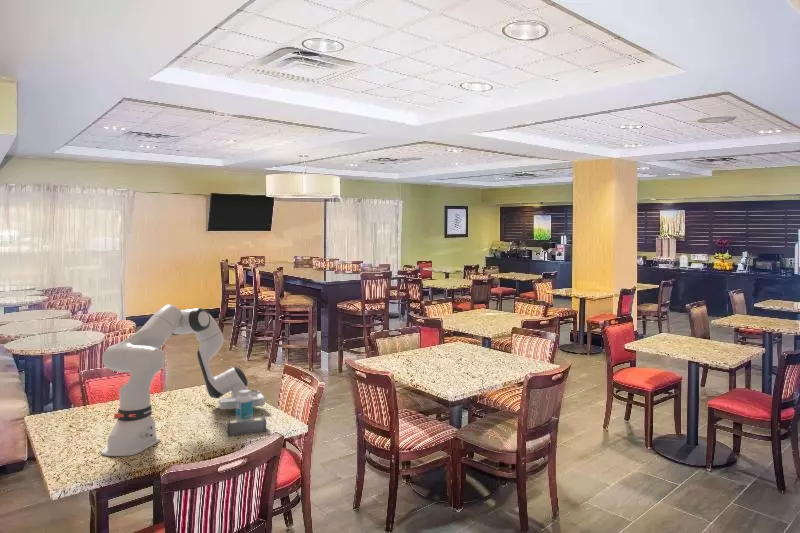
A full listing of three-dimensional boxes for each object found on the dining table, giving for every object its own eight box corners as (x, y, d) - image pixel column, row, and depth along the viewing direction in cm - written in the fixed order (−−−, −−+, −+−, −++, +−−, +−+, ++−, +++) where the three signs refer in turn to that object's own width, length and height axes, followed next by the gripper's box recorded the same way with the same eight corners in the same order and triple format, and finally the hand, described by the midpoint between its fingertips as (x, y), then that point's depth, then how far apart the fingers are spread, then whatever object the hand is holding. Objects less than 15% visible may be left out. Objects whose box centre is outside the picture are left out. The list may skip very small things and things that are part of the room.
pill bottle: (255, 418, 252) (255, 389, 252) (249, 424, 245) (249, 393, 244) (239, 418, 253) (239, 388, 252) (233, 423, 246) (232, 393, 245)
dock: (266, 431, 235) (266, 420, 235) (227, 436, 230) (227, 424, 230) (264, 426, 241) (264, 415, 241) (227, 430, 236) (227, 419, 236)
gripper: (218, 394, 263) (219, 402, 249) (263, 390, 269) (266, 397, 256) (218, 407, 263) (219, 416, 250) (263, 403, 270) (266, 411, 256)
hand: (243, 406), depth 253 cm, fingers closed
